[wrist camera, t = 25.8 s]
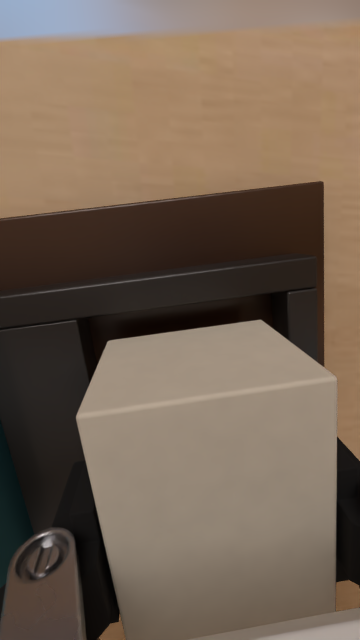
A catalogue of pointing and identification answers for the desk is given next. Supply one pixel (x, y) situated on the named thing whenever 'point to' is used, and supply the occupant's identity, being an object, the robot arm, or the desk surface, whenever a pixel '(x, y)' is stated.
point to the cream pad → (213, 479)
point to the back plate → (140, 301)
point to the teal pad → (10, 510)
